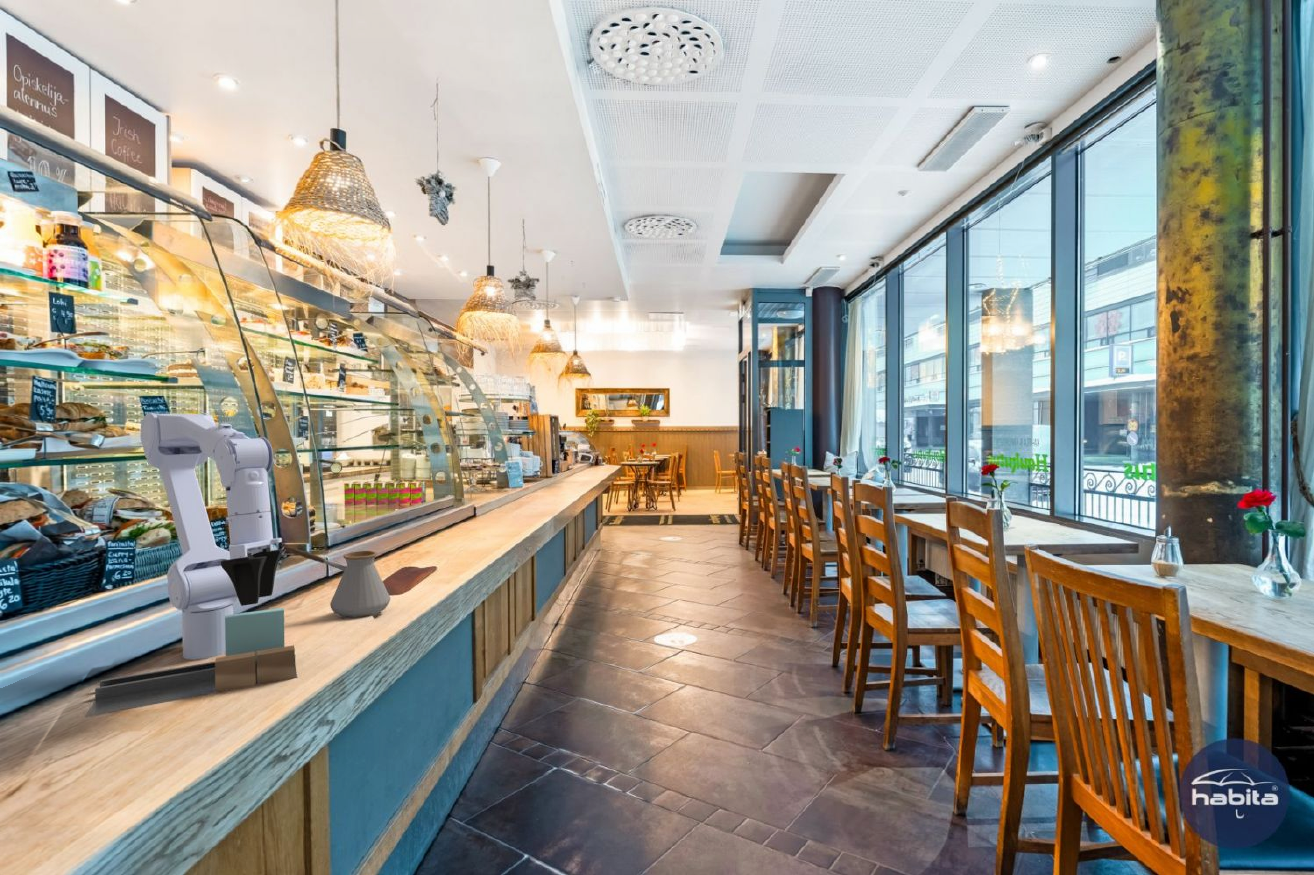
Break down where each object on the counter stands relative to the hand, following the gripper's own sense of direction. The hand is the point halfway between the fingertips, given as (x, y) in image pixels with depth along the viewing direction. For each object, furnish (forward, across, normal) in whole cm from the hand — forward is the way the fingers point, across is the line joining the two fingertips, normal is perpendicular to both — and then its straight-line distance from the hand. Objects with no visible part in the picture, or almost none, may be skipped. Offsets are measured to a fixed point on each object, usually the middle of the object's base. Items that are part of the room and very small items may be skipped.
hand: (257, 600), depth 100 cm
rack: (+12, +1, +9) cm, 15 cm away
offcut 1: (+12, -2, +3) cm, 13 cm away
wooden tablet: (+8, +60, -16) cm, 62 cm away
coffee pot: (+10, +34, -5) cm, 36 cm away
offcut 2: (+12, -1, -2) cm, 12 cm away
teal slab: (+11, +5, +2) cm, 12 cm away
